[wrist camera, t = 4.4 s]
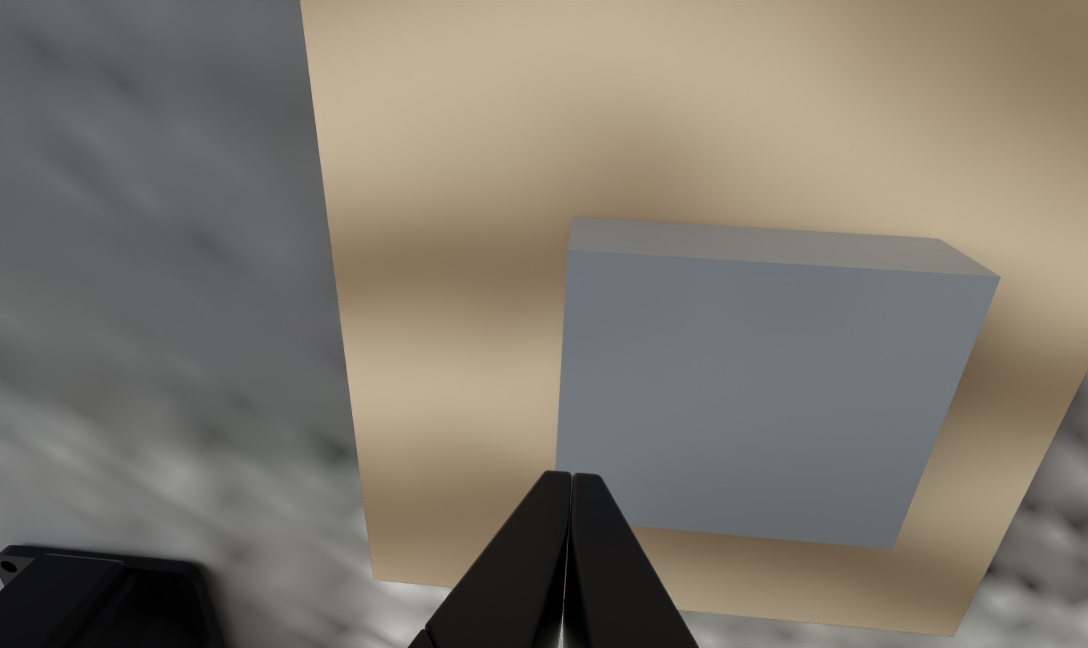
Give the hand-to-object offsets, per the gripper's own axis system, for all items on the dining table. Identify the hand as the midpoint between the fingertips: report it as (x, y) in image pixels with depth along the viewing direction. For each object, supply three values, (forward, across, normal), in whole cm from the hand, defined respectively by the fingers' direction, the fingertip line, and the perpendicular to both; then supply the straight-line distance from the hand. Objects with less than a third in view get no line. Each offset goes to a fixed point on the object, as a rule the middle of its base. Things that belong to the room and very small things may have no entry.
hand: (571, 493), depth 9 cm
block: (+4, 0, 0) cm, 4 cm away
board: (+6, -3, -1) cm, 6 cm away
